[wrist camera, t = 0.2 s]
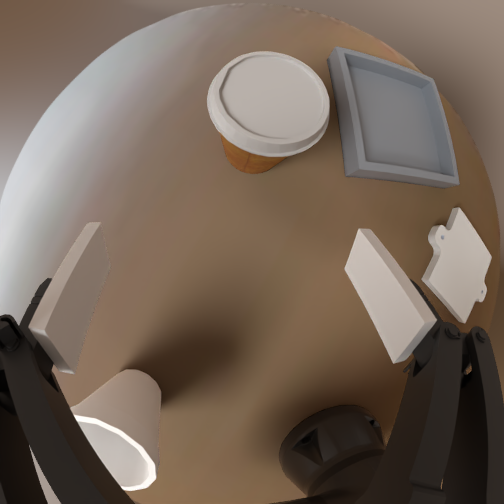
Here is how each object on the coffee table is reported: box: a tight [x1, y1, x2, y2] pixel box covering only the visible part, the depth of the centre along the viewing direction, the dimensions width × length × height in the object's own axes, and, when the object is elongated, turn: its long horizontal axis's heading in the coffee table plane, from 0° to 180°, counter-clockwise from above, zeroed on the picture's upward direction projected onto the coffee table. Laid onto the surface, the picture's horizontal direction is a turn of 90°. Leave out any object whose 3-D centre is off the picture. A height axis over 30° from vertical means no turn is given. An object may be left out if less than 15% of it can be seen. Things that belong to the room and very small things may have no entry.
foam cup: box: [70, 369, 161, 491], centre depth 21 cm, size 10×9×13 cm
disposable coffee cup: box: [207, 51, 330, 174], centre depth 23 cm, size 10×10×12 cm
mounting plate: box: [421, 207, 492, 323], centre depth 33 cm, size 18×13×2 cm
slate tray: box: [327, 46, 460, 188], centre depth 29 cm, size 18×18×4 cm
